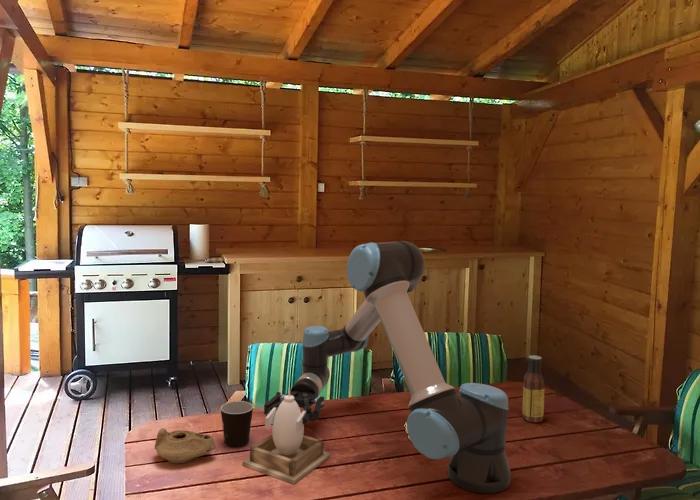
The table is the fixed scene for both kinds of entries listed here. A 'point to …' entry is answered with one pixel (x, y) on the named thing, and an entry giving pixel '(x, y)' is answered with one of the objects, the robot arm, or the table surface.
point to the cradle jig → (286, 459)
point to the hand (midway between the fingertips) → (282, 424)
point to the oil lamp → (182, 445)
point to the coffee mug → (236, 423)
